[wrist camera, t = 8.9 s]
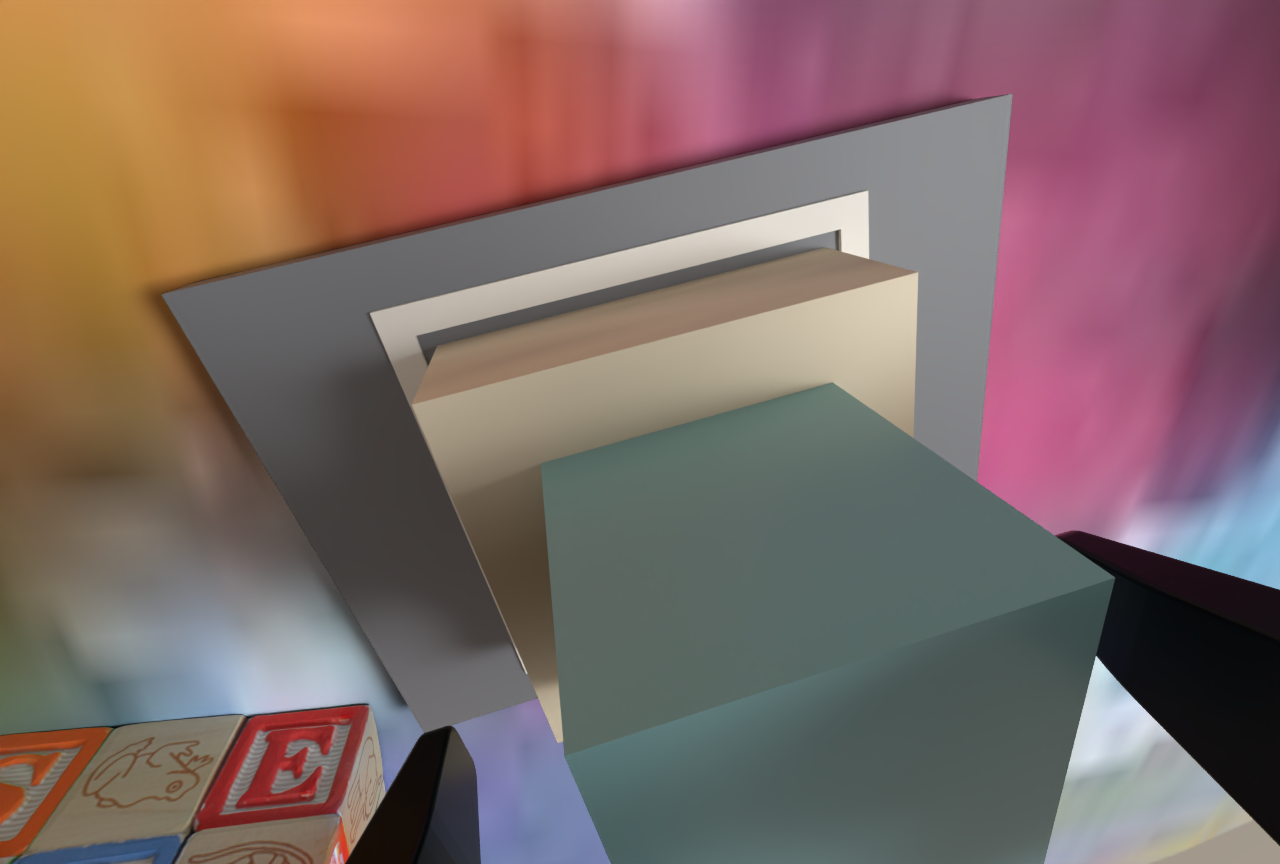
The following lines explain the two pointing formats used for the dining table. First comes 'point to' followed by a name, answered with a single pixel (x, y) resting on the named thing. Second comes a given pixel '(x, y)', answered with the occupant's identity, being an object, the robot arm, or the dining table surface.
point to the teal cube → (812, 645)
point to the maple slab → (646, 396)
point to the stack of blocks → (193, 790)
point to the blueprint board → (552, 285)
